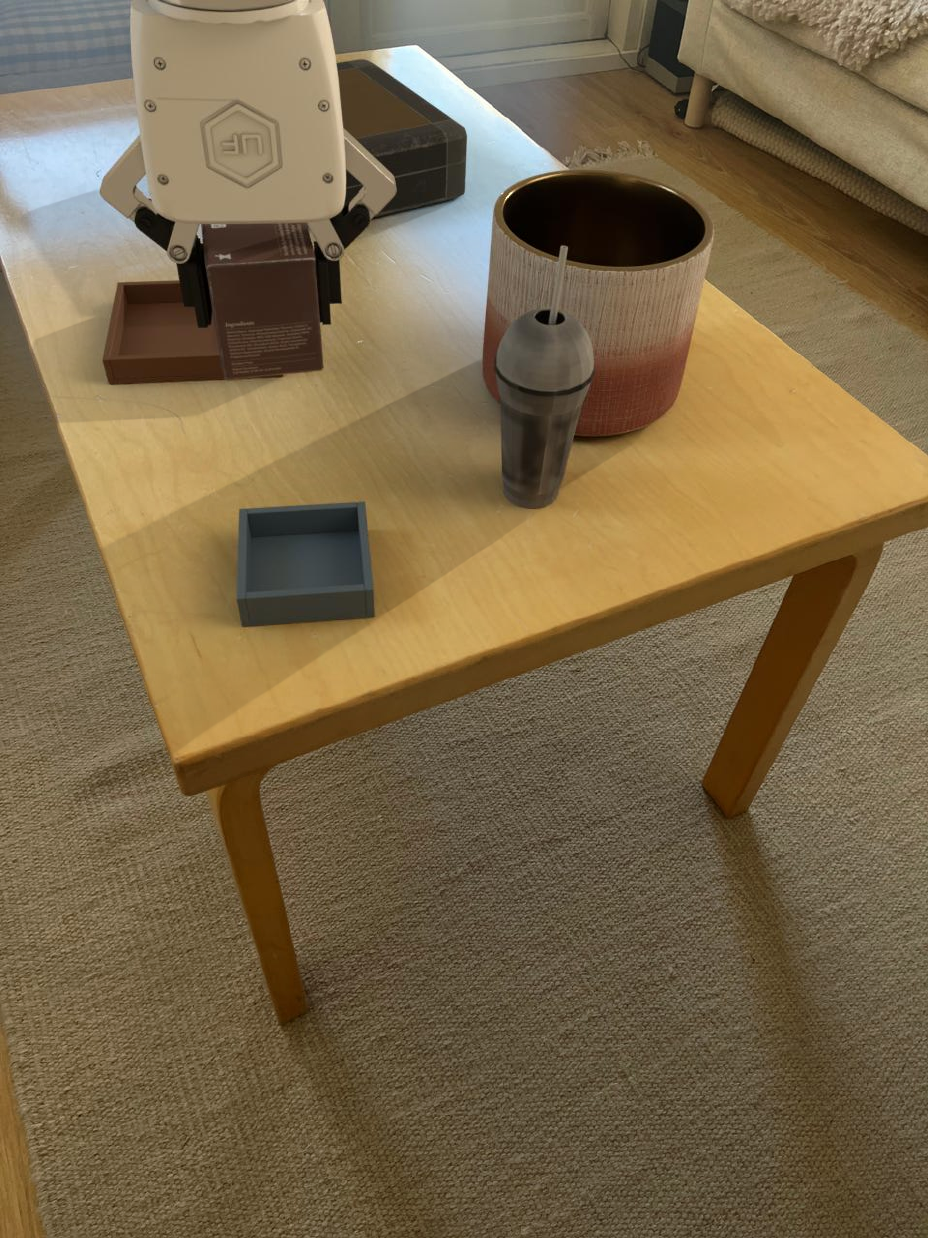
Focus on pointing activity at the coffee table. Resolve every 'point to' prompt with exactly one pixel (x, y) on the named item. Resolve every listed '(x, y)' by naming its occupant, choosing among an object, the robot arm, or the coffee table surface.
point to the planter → (604, 282)
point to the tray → (158, 337)
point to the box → (263, 298)
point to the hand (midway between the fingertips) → (265, 311)
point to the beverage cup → (541, 397)
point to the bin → (304, 564)
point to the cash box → (402, 137)
